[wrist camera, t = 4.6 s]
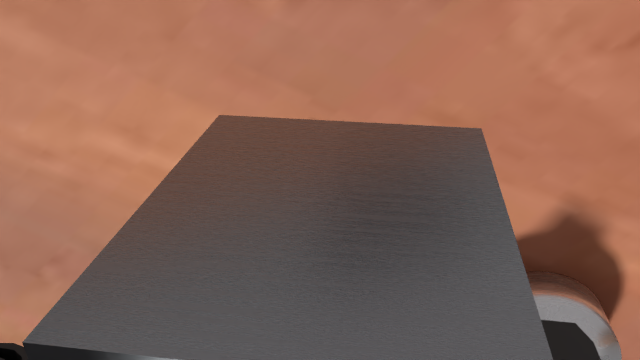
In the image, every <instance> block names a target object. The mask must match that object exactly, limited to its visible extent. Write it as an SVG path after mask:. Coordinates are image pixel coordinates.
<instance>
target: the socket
mask: <svg viewBox="0 0 640 360" xmlns="http://www.w3.org/2000/svg"><path fill="white" fill-rule="evenodd" d="M22 343H23V346H24V349H25V352H26V355H27V358H28V360H553V357H552V354H551V351H550V348H549V345H548V341H547V338H546V335H545V332H544V329H543V325H542V322H541V319H540V316H539V312H538V309H537V306H536V303H535V300H534V296H533V293H532V290H531V287H530V283H529V280H528V277H527V274H526V271H525V267H524V264H523V261H522V258H521V254H520V251H519V248H518V245H517V242H516V238H515V235H514V232H513V229H512V226H511V222H510V219H509V216H508V213H507V209H506V206H505V203H504V200H503V197H502V193H501V190H500V187H499V184H498V180H497V177H496V174H495V171H494V168H493V164H492V161H491V158H490V155H489V151H488V148H487V145H486V142H485V139H484V135H483V132H482V129H479V128H460V127H441V126H422V125H402V124H383V123H364V122H344V121H325V120H306V119H286V118H267V117H248V116H229V115H219V116H218V117H217V118H216V120H215V121H214V122H213V123H212V124H211V125H210V127H209V128H208V129H207V130H206V131H205V132H204V133H203V135H202V136H201V137H200V138H199V139H198V140H197V142H196V143H195V144H194V145H193V146H192V147H191V148H190V150H189V151H188V152H187V153H186V154H185V155H184V157H183V158H182V159H181V160H180V161H179V162H178V163H177V165H176V166H175V167H174V168H173V169H172V170H171V172H170V173H169V174H168V175H167V176H166V177H165V178H164V180H163V181H162V182H161V183H160V184H159V185H158V187H157V188H156V189H155V190H154V191H153V192H152V193H151V195H150V196H149V197H148V198H147V199H146V200H145V202H144V203H143V204H142V205H141V206H140V207H139V208H138V210H137V211H136V212H135V213H134V214H133V215H132V217H131V218H130V219H129V220H128V221H127V222H126V223H125V225H124V226H123V227H122V228H121V229H120V230H119V232H118V233H117V234H116V235H115V236H114V237H113V238H112V240H111V241H110V242H109V243H108V244H107V245H106V247H105V248H104V249H103V250H102V251H101V252H100V253H99V255H98V256H97V257H96V258H95V259H94V260H93V262H92V263H91V264H90V265H89V266H88V267H87V268H86V270H85V271H84V272H83V273H82V274H81V275H80V277H79V278H78V279H77V280H76V281H75V282H74V283H73V285H72V286H71V287H70V288H69V289H68V290H67V292H66V293H65V294H64V295H63V296H62V297H61V298H60V300H59V301H58V302H57V303H56V304H55V305H54V307H53V308H52V309H51V310H50V311H49V312H48V313H47V315H46V316H45V317H44V318H43V319H42V320H41V322H40V323H39V324H38V325H37V326H36V327H35V328H34V330H33V331H32V332H31V333H30V334H29V335H28V337H27V338H26V339H25V340H24V341H23V342H22Z"/></svg>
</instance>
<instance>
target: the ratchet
mask: <svg viewBox="0 0 640 360" xmlns="http://www.w3.org/2000/svg"><path fill="white" fill-rule="evenodd" d="M526 274H527V277H528V280H529V283H530V287H531V290H532V293H533V296H534V300H535V303H536V306H537V309H538V312H539V316H540V319H541V320H550V321H560V322H571V323H576V324H577V325H578V326H579V327H580V328H581V329H582V330H583V332H584V333H585V334H586V335H587V336H588V337H589V338H590V339H591V340H592V341H593V342H594V344H595V347H596V349H597V351H598V354H599V356H600V359H601V360H621V349H620V346H619V343H618V341H617V338H616V336H615V334H614V332H613V330H612V327H611V325H610V323H609V321H608V318H607V316H606V314H605V312H604V310H603V307H602V305H601V303H600V302H599V300H598V298H597V297H596V296H595V295H594V293H593V292H592V291H591V290H589V289H588V288H587V287H586V286H584V285H583V284H582V283H580V282H578V281H576V280H574V279H572V278H570V277H567V276H564V275H560V274H556V273H550V272H526Z"/></svg>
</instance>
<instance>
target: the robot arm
mask: <svg viewBox="0 0 640 360" xmlns="http://www.w3.org/2000/svg"><path fill="white" fill-rule="evenodd" d="M541 322H542V325H543V329H544V332H545V335H546V338H547V341H548V345H549V348H550V351H551V354H552V357H553V360H601V359H600V356H599V354H598V351H597V349H596V347H595V344H594V342H593V341H592V340H591V339H590V338H589V337H588V336H587V335H586V334H585V333H584V332H583V330H582V329H581V328H580V327H579V326H578V325H577V324H576V323H571V322H560V321H550V320H541ZM0 360H28V358H27V355H26V352H25V349H24V347H22V346H20V345H17V344H14V343H0Z"/></svg>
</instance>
